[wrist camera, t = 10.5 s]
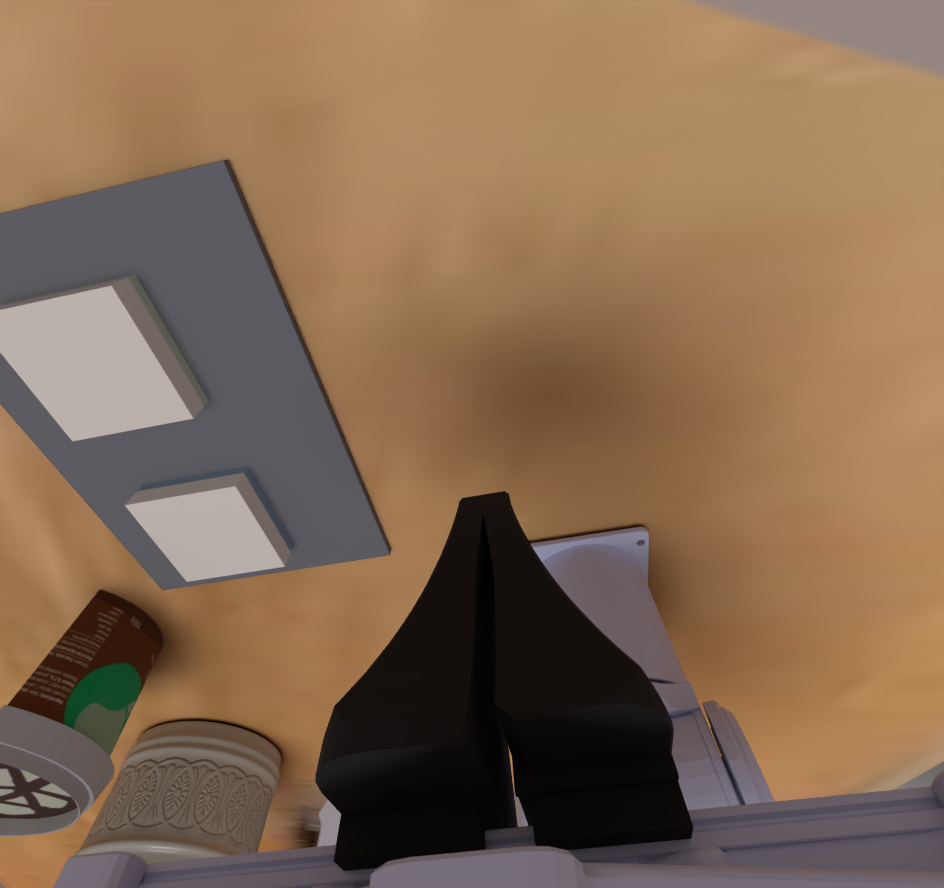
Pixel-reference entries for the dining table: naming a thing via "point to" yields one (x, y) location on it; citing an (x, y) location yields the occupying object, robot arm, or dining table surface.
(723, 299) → the dining table surface
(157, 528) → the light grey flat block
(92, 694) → the food container
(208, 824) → the jar
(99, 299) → the tile sage
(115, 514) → the mat
